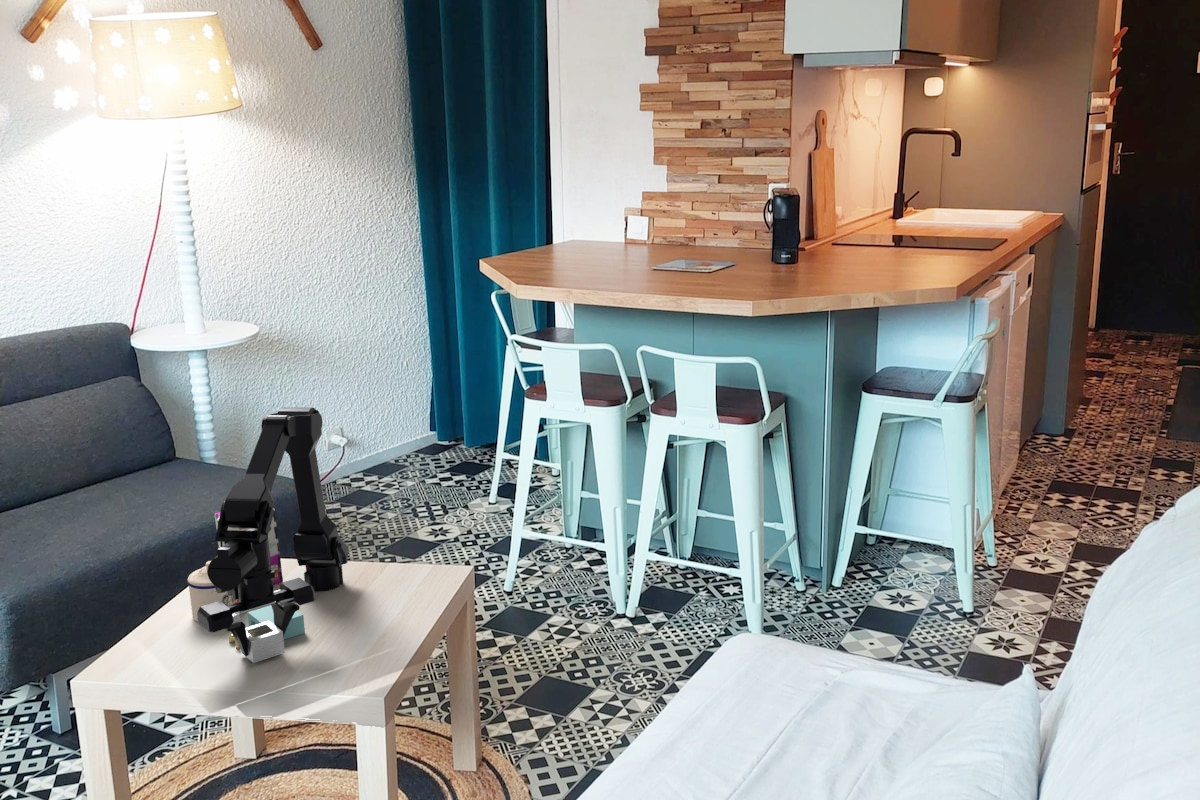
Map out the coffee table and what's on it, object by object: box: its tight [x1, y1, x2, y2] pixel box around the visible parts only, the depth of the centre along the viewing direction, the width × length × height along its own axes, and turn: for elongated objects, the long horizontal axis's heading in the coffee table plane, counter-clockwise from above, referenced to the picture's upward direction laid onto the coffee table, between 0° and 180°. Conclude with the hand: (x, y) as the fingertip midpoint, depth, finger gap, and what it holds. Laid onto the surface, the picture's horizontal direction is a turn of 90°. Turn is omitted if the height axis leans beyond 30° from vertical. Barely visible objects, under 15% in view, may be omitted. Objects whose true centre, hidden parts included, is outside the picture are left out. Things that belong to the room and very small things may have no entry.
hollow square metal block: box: [239, 621, 286, 664], centre depth 188 cm, size 6×6×4 cm
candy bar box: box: [214, 507, 284, 587], centre depth 219 cm, size 11×5×16 cm, turn 118°
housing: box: [247, 605, 306, 640], centre depth 198 cm, size 7×8×4 cm
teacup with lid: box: [186, 560, 239, 623], centre depth 206 cm, size 12×9×12 cm
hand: (262, 649), depth 188 cm, fingers closed on hollow square metal block, 5 cm apart
